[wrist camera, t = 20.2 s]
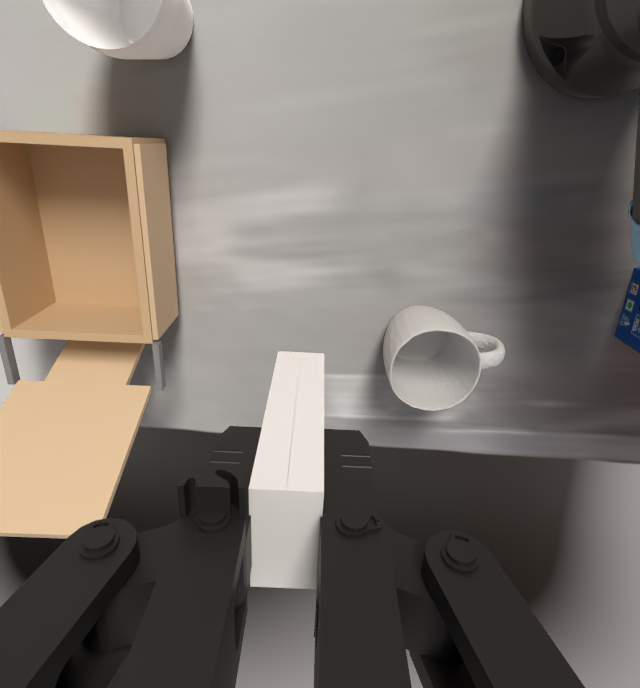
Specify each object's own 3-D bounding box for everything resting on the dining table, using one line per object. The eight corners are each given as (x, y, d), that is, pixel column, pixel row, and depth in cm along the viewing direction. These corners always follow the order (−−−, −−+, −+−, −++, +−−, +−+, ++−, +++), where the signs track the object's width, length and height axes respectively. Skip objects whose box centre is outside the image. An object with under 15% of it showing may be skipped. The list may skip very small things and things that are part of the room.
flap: (-78, 529, 35) (-73, 533, 36) (96, 536, 36) (98, 540, 36) (47, 335, 51) (49, 339, 51) (167, 340, 51) (168, 345, 51)
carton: (15, 130, 46) (-55, 128, 37) (171, 139, 46) (138, 138, 37) (56, 346, 55) (8, 384, 46) (186, 352, 55) (162, 390, 47)
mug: (376, 368, 56) (386, 412, 47) (377, 296, 52) (390, 329, 43) (483, 365, 56) (515, 410, 46) (492, 293, 52) (529, 326, 43)
